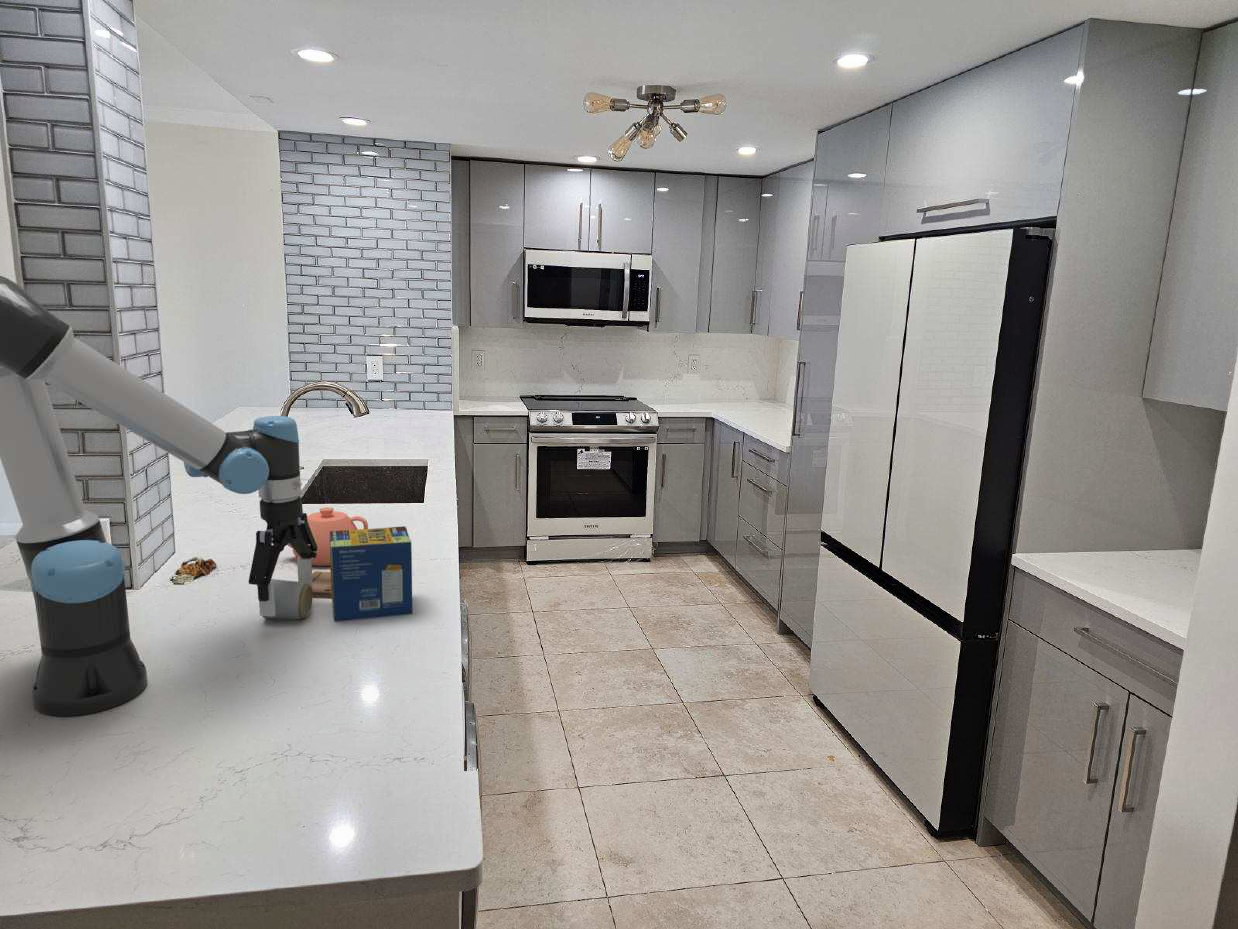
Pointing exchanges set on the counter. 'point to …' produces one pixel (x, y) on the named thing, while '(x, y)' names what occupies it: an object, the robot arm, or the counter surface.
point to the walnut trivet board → (321, 585)
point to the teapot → (328, 531)
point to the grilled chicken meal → (192, 570)
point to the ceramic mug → (291, 599)
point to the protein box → (371, 573)
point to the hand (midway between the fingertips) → (287, 601)
